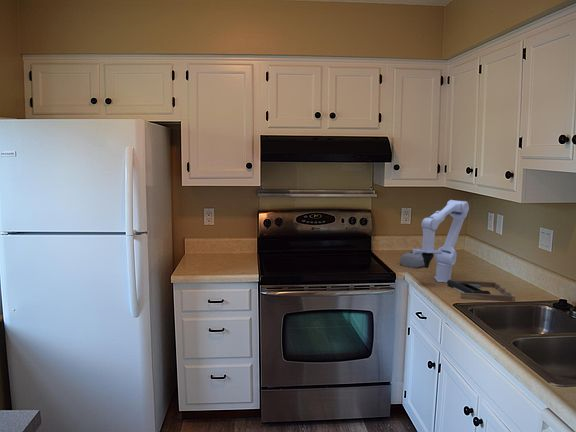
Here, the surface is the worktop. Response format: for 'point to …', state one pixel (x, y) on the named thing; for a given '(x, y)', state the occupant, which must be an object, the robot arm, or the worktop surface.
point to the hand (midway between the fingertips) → (426, 267)
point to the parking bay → (505, 297)
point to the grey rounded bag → (412, 260)
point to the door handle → (466, 287)
